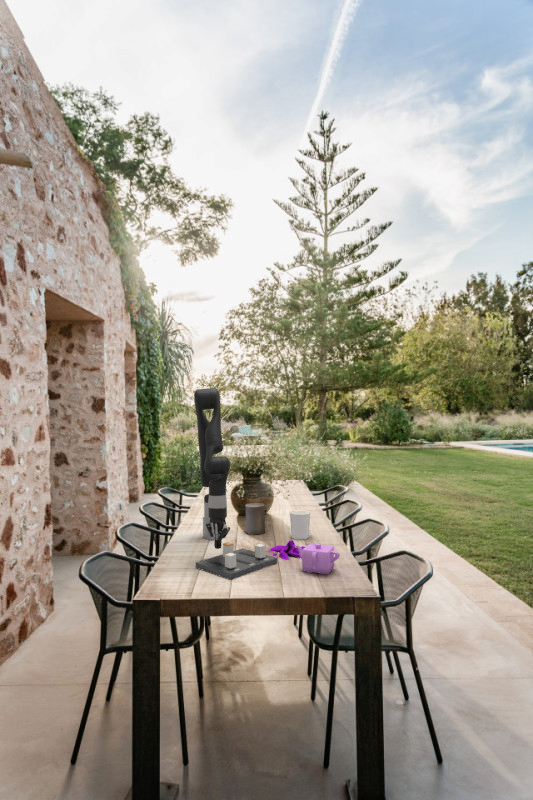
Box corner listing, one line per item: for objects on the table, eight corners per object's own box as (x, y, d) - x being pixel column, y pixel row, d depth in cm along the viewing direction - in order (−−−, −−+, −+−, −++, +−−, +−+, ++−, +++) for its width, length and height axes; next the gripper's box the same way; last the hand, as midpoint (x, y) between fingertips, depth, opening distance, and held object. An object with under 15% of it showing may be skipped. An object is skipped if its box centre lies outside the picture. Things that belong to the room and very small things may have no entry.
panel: (195, 567, 187) (195, 562, 187) (242, 553, 205) (242, 548, 205) (231, 579, 173) (230, 573, 173) (277, 562, 192) (277, 557, 192)
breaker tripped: (222, 556, 193) (222, 543, 193) (228, 554, 195) (228, 542, 195) (228, 557, 191) (227, 544, 191) (233, 556, 193) (233, 543, 193)
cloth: (268, 547, 215) (268, 534, 215) (309, 547, 214) (309, 533, 215) (267, 563, 193) (267, 548, 193) (313, 563, 192) (313, 548, 192)
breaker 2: (254, 556, 192) (254, 545, 192) (260, 555, 194) (260, 543, 194) (260, 558, 190) (260, 546, 190) (265, 556, 192) (265, 545, 192)
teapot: (288, 573, 180) (288, 546, 180) (300, 562, 193) (299, 536, 193) (335, 579, 173) (335, 550, 173) (344, 567, 186) (344, 541, 186)
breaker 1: (225, 566, 180) (224, 554, 180) (230, 564, 182) (230, 552, 182) (230, 568, 178) (230, 556, 178) (236, 566, 180) (236, 554, 180)
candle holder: (300, 541, 222) (300, 515, 223) (285, 537, 230) (285, 512, 230) (314, 537, 229) (314, 512, 229) (300, 533, 236) (299, 509, 236)
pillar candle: (268, 531, 242) (268, 501, 242) (259, 535, 233) (258, 504, 234) (251, 529, 246) (251, 499, 247) (242, 533, 238) (241, 503, 238)
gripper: (200, 505, 199) (200, 547, 199) (221, 509, 190) (221, 553, 190) (214, 502, 205) (214, 543, 204) (235, 506, 196) (235, 549, 195)
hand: (218, 548), depth 197 cm, fingers closed
